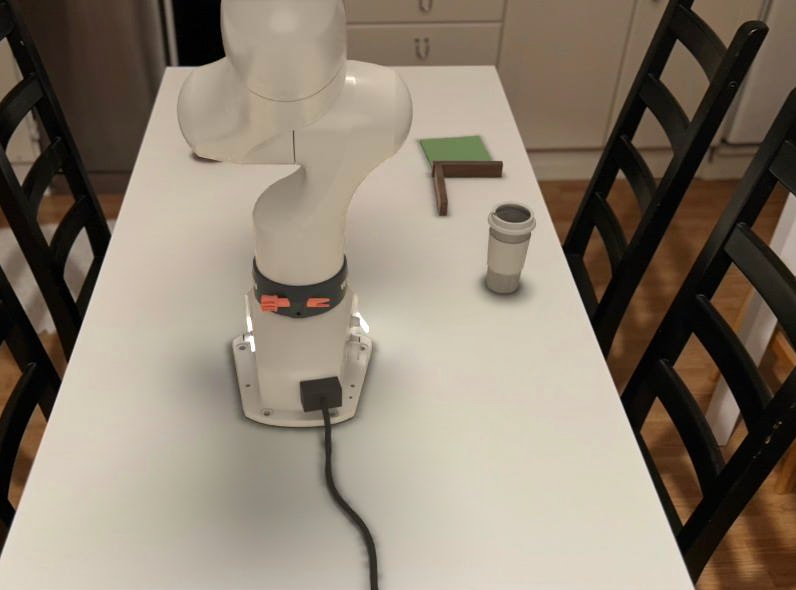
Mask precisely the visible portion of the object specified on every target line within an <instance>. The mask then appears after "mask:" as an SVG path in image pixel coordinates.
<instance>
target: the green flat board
mask: <svg viewBox="0 0 796 590" xmlns="http://www.w3.org/2000/svg"><path fill="white" fill-rule="evenodd" d="M419 142H420V145H421V147H422V149H423V152H424V154H425V156H426V158H427V161H428V163H429V165H430V167H431V169H432V161H493V160H492V158H491V156H490V155H489V151H487V148H486V146H485V145H484V142H483V141H482V139H481V138H480V135H473V136H471V135H470V136H457V137H456V136H455V137H441V138H440V137H439V138H426V139H420V140H419Z"/></svg>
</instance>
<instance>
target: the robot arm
mask: <svg viewBox="0 0 796 590" xmlns="http://www.w3.org/2000/svg"><path fill="white" fill-rule="evenodd" d="M346 16H347V15H346V10H345V5H344V1H343V0H221V1H220V32H221V39H222V46H223V50H224V54H225V56H224V57H222V58H220V59H219V60H216V61H213V62H211V63H207V64H204V65H200V66H197V67H195V68H193V69H192V71H191V72H190V73H189V74H188V75H187V77H186V78H185V80H184V81H183V84H182V85H181V88H180V89H179V94H178V99H177V104H176V113H177V122H178V126H179V129H180V132H181V135H182V137H183V139H184V140H185V142H186V144H187V145H188V146H189V149H191V150H192V151H193V153H195V154H196V155H197V156H198V157H200V158H204V159H208V160H214V161H219V162H223V163H228V164H234V165H240V166H241V165H245V166H246V165H251V166H252V165H262V166H263V165H265V166H266V165H269V166H270V165H271V166H272V165H274V166H276V165H277V166H279V165H280V166H283V165H285V166H289V165H290V166H291V165H293V166H294V165H296V166H299V167H298V168H297V169H296V170H295V171H293V172H292V173H290V174H288V175H286V176H284V177H282V178H279V179H278V180H276V181H274V182H273V183H271V184H270V185H269V186H268V187H267V188H266V189H265V190H264V191H263V192H262V193H260V195H259V197H258V198H257V199H256V200H255V203H254V205H253V210H252V229H253V242H254V243H253V245H254V256H253V257H252V258H253V259H252V267H251V279H252V285H253V286H252V287H251V289H249V290H248V291H247V292H246V293H245V294H244V308H245V322H246V331H245V332H243V334H241V335H238V336H237V337H235V338H234V339H233V340H232V353H233V360H234V365H235V370H236V371H235V372H236V375H237V376H236V377H237V382H238V388H239V394H240V398H241V405H242V410H243V414H244V416H245V417H246V418H248V419H250V420H252V421H255V422H257V423H260V424H265V425H268V426H269V425H270V426H276V427H285V428H286V427H291V428H309V427H311V428H313V427H322V426H324V452H325V464H324V473H325V479H326V483H327V486H328V489H329V491H330V493H331V495H332V497H333V499H334V500H335V502H336V503H337V505H338V506H339V507H340V508H341V509H342V510H343V511H344V513H346V514H347V515H348V516H349V517H350V518H351V519H352V521H353V522H355V524H356V525H357V526H358V528H359V529H360V531H361V532H362V534H363V537H364V539H365V542H366V545H367V550H368V555H369V575H370V576H369V578H370V579H369V580H370V590H379V579H378V578H379V577H378V556H377V549H376V546H375V541H374V539H373V537H372V534H371V531H370V530H369V528H368V526H367V524H366V523H365V522H364V520H363V519H362V517H361V516H360V515H359V514H358V513H357V512H356V511H355V510H354V509H353V508H352V507H351V506H350V505H349V504H348V503H347V502H346V501H345V499H344V498H343V497H342V496H341V494H340V492H339V491H338V489H337V487H336V484H335V481H334V477H333V471H332V452H333V451H332V447H333V446H332V425H334V424H335V425H336V424H338V423H341V422H344V421H347V420H349V419H351V418H353V417H354V416H355V415H356V412H357V408H358V404H359V400H360V396H361V392H362V389H363V387H364V385H363V384H364V381H365V378H366V374H367V371H368V366H369V362H370V359H371V355H372V352H373V342H372V340H371V338H369V337H368V336H366V335H364V334H361V333H359V328H360V325H361V327H362V328H363V330H364V331H365V333H368V332H369V326H368V324H367V323H366V321H365V320H364V319H363V317H362V316H361V314H360V313H359V295H358V294H357V293H356V292H355V291H354V290H353V289H351V287H350V286H349V285H348V280H349V279H348V278H349V268H348V267H349V266H348V259H347V255H346V254H345V238H346V237H345V235H346V226H347V225H346V224H347V216H348V211H349V208H350V207H349V206H350V205H351V201H352V199H353V197H354V195H355V193H356V192H357V190H358V188H359V187H360V186H361V184H362V183H363V182H364V180H366V178H367V177H368V176H369V175H370V174H371V173H372V172H373V171H374V170H375V169H376V168H378V167H379V166H380V165H382V164H383V163H385V162H386V161H388V160H389V159H391V158H393V157H394V156H395V155H396V154H397V153H398V152H399V151H400V150H401V148H402V147H403V146H404V144H405V143H406V141H407V140H408V136H409V134H410V132H411V128H412V123H413V118H414V109H413V100H412V95H411V92H410V91H409V88H408V84H407V83H406V81H405V79H404V78H403V77H402V76H401V74H400V73H399V72H398V71H397V70H396V69H395V68H393V67H389V66H385V65H380V64H377V63H372V62H366V61H361V60H356V59H348V24H347V23H348V22H347V17H346Z"/></svg>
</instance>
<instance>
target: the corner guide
mask: <svg viewBox="0 0 796 590" xmlns="http://www.w3.org/2000/svg"><path fill="white" fill-rule="evenodd" d="M503 169H504V163H503V160H492V161H432V168H431V177H432V178H433V181H434V189H435V195H436V201H437V202H436V203H437V207H438V214H439V216H447V215H448V207H449V200H448V193H447V187H446V182H445V178H502V176H503Z"/></svg>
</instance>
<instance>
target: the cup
mask: <svg viewBox="0 0 796 590" xmlns="http://www.w3.org/2000/svg"><path fill="white" fill-rule="evenodd" d="M487 223H488V225H489V228H488V241H487V255H486V257H487V258H486V265H487V270H486V286H487V288H488V289H489V290H491V291H493V292H495V293H498V294H510V293H513V292H515V291H516V290H517V289H518V288H519V283H520V279H521V275H522V271H523V269H524V266H525V262H526V259H527V254H528V250H529V246H530V241H531V237H532V232H533V231H534V230H535V229H536V227H537V220H536V217H535V212H534V210H533V209H532V208H531V207H530V206H529V205H526V204H524V203H522V202H517V201H503V202H500V203H497V204H496V205H494V206H493V208H492V209H491V211H490V212H489V214H488V216H487Z"/></svg>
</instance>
